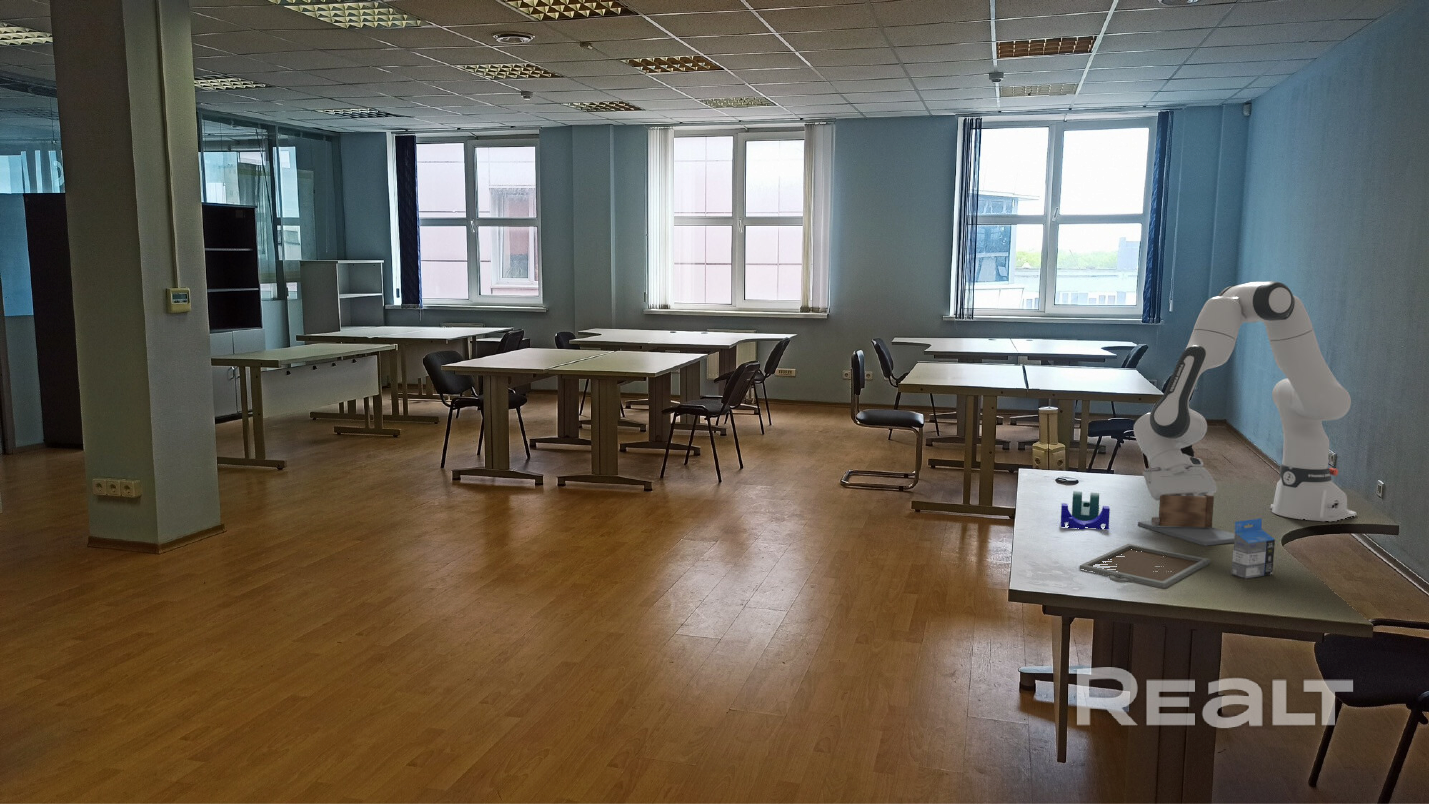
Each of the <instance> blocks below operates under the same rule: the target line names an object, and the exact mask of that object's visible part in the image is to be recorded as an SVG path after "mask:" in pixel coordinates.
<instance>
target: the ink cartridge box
mask: <svg viewBox="0 0 1429 804" xmlns="http://www.w3.org/2000/svg"><path fill="white" fill-rule="evenodd" d="M1262 523H1263V518H1254V519H1253V518H1252V519H1246V520H1238V521H1234V534H1235V537H1234V542H1233V548H1232V549H1233V551H1232V552H1233V553H1232V561H1231V574H1230V575H1233V576H1235V577H1238V578H1240V579H1241V578H1242V579H1246V580H1247V579H1253V578H1258V577H1265V576H1270V575H1271V574H1272V575H1273V569H1274V558H1275V547H1276V546H1275V544H1276V539H1275V538H1274V537H1272V536H1271V535H1270V534H1269V533H1267V532H1266V531H1265V530H1263V528H1262V526H1263V525H1262ZM1248 525H1250V526H1251V527H1250V526H1249V527H1245V526H1248Z"/></svg>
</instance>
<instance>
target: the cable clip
mask: <svg viewBox="0 0 1429 804" xmlns="http://www.w3.org/2000/svg"><path fill="white" fill-rule="evenodd" d="M1110 511H1111V508H1110V506H1109V505H1102V509H1101V511H1100V512H1099V515H1098V517H1096V518H1095V519H1093V520H1090V521H1081V520H1078V519H1076V518H1075V517H1073V516H1072V513H1071V512H1070V510H1069V504H1068V503H1066V502H1065V503H1064V502H1063V503H1061V507H1060V528H1061V527H1065V524H1068V525H1067V526H1069V527H1068V528H1067V529H1069V528H1077V529H1076V530H1083V529H1085V530H1086V528H1085V527H1088V528H1096V529H1095V530H1102V528H1101V526H1102V525H1104V526H1105V528H1104V529H1109V530H1110V528H1109V527H1110V513H1111V512H1110ZM1078 528H1079V529H1078Z"/></svg>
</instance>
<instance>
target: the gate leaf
mask: <svg viewBox="0 0 1429 804" xmlns="http://www.w3.org/2000/svg"><path fill="white" fill-rule="evenodd" d="M1214 500H1215V496H1214V494H1212V495H1211V494H1205V496H1171V495H1164V496H1160V500H1159V503H1158V504H1159V506H1158V517H1157V516H1151V520H1152V521H1151V520H1150V521H1151V525H1152V526H1179V527H1206V528H1213V519H1214V518H1213V515H1214Z"/></svg>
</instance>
